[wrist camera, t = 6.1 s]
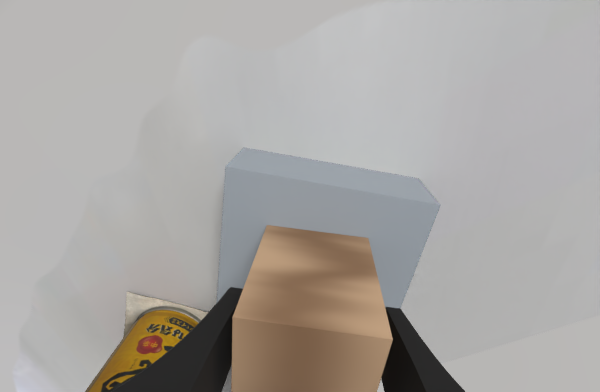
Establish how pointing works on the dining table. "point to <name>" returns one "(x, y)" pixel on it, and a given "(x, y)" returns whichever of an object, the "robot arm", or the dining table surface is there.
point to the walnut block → (310, 316)
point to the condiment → (145, 338)
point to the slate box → (323, 213)
